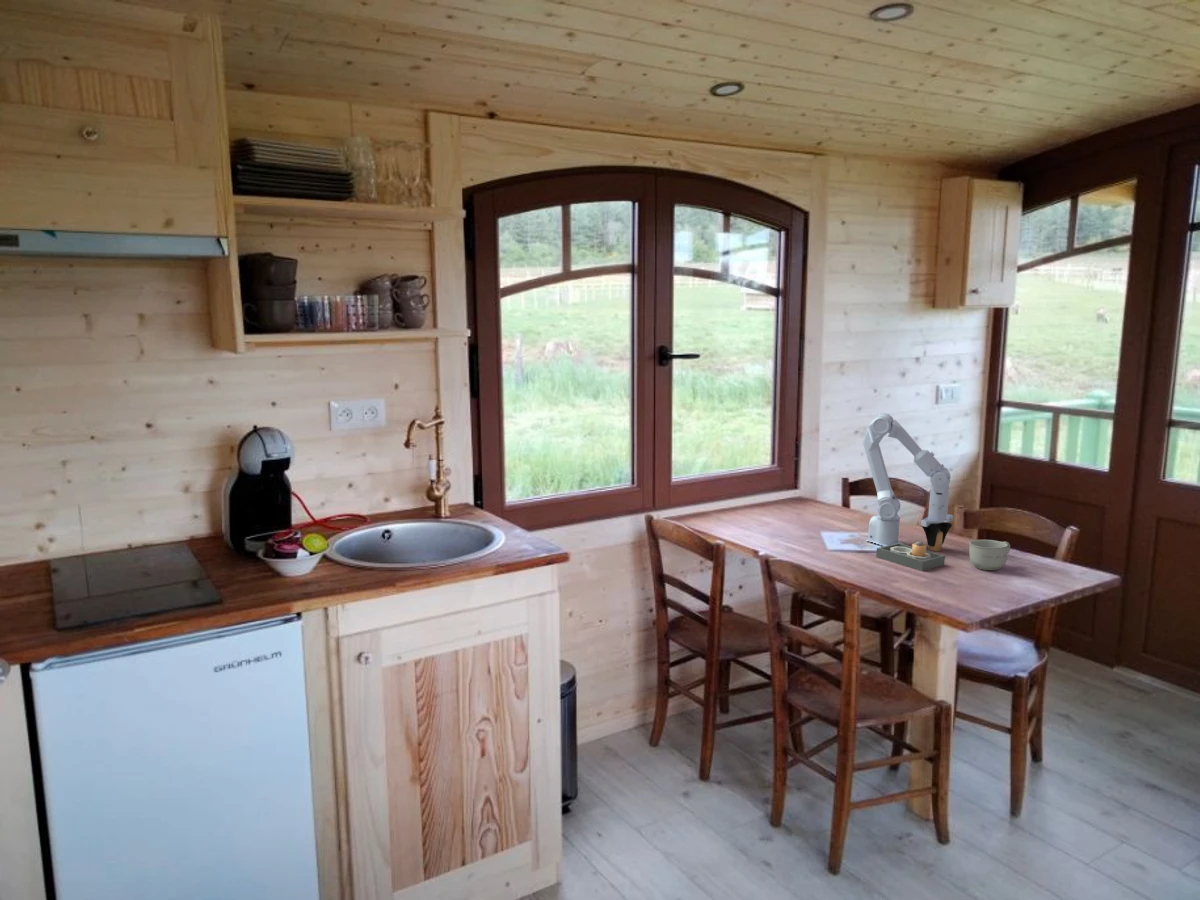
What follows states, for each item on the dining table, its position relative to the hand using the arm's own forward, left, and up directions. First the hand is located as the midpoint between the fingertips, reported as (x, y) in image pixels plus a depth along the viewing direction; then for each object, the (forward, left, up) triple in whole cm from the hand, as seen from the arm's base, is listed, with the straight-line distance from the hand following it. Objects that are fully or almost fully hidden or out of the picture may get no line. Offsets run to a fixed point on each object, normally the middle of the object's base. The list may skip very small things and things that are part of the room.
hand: (935, 544), depth 274 cm
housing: (+4, -18, -2) cm, 18 cm away
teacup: (+21, -2, -2) cm, 21 cm away
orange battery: (0, 0, -2) cm, 2 cm away
